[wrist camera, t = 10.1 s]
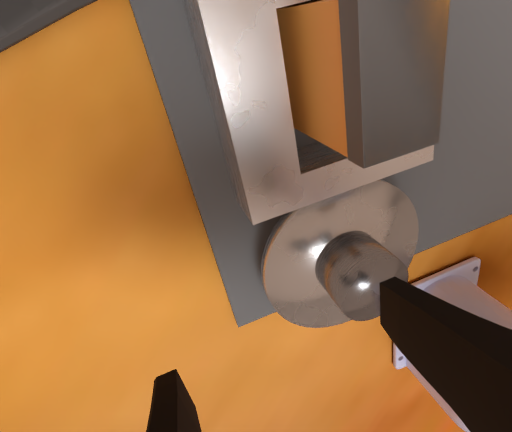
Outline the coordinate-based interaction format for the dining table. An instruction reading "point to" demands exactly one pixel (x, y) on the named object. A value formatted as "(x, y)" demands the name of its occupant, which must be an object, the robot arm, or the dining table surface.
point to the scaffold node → (299, 176)
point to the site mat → (408, 181)
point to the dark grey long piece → (32, 17)
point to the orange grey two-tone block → (367, 74)
